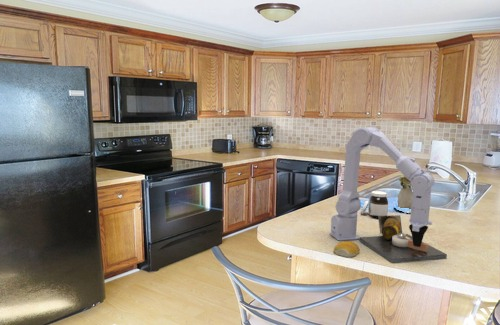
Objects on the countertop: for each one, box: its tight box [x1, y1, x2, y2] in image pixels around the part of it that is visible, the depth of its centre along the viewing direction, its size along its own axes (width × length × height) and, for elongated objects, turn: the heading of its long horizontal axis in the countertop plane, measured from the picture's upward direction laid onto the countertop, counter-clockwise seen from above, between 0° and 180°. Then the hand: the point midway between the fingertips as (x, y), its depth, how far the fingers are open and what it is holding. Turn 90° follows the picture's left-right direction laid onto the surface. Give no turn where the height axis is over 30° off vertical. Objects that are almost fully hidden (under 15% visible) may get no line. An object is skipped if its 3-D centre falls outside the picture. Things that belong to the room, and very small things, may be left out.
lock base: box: [358, 232, 448, 264], centre depth 135 cm, size 21×21×6 cm
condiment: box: [378, 214, 403, 240], centre depth 144 cm, size 7×8×12 cm
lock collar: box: [392, 235, 429, 252], centre depth 133 cm, size 12×6×2 cm, turn 47°
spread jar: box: [360, 190, 389, 219], centre depth 177 cm, size 12×11×12 cm
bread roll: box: [333, 240, 360, 258], centre depth 131 cm, size 8×9×4 cm
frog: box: [397, 175, 413, 214], centre depth 187 cm, size 12×13×18 cm
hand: (416, 246), depth 129 cm, fingers closed
